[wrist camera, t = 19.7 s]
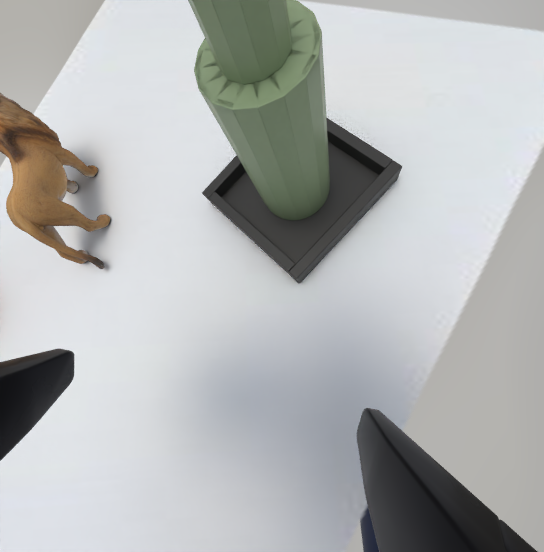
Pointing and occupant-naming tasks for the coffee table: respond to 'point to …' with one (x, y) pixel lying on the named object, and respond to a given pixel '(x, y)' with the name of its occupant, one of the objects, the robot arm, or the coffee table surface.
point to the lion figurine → (42, 181)
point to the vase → (268, 96)
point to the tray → (321, 225)
